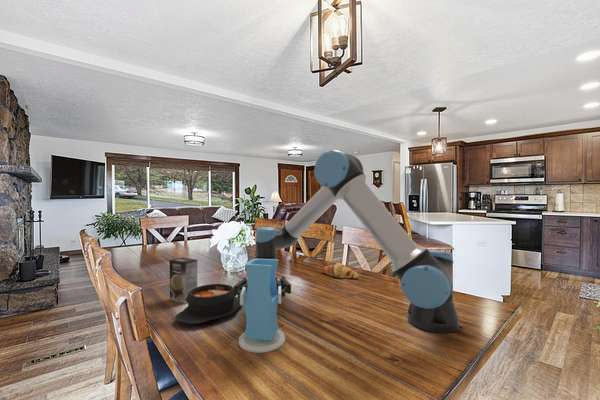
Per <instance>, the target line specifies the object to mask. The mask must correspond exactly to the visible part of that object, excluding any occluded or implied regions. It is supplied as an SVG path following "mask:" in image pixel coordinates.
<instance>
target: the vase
mask: <svg viewBox="0 0 600 400" xmlns="http://www.w3.org/2000/svg"><path fill="white" fill-rule="evenodd" d="M278 263H279V259H278V258H276V259H256V258H253V259H251V260H249V261H247V262H246V263H244V266H245V269H246V274H247V275H246V276H247V279H248V286H247V292H246V295H245V298H244V303H243V305H242V306H243V309H244V312H245V320H246V324H245V331H244V332H245V335H244V338H250V339H260V340H271V339H273V337H274V336H275V334H276V332H277V331H278V329H279V324H278V317H277V315H278V314H277V313H278V311H277V310H278V305H279V302H278V289H277V286H276V279H275V276H276V277H277V268H278Z"/></svg>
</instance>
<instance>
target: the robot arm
mask: <svg viewBox="0 0 600 400" xmlns="http://www.w3.org/2000/svg"><path fill="white" fill-rule="evenodd" d="M313 171H314V174H313V175H314V176H315V180H316V181H317V182H318V183H319V184H320V185H321V187H320V189H319V190H318V191H317V192H316V193H315V194H314V195H313V196H312V197H311V198H310V199H309V200H307V202H306V203H305V204H304V205H303V206H302V207H301V208H300V209H299V210H298V211H297V212H296V213H295V214H294V215H293V216H292V218H291V219H289V220H288V222H286V224H285V225H284V226H283V227H281V229H279V230H277V229H276V228H275V227H272V226H271V227H270V226H267V227H266V226H264V227H258V228H256V232H255V256H256V257H255V259H277V251H278V250H282V249H285V248H290V247H293V246H295V245H296V244H297V242H298V240H299V238H300V237H301V236H302V234H305V232H306V231H307V230H308V229H309V228H310V227H311V226H312V225H313V224H315V222H316V221H317V220H318V219H319V218H320V217H321V216H322V215H324V213H325V212H326V211H327V210H328V209H330V208H331V206H333V205H334V204H335V203H336V202H337V201H338V200H343V201H344V202H345V204H346V205H347V206H348V207H349V208H350V210H351V212H352V213H353V214H354V216H356V218H357V219H358V221H359V222H360V223H361V224H362V226H363V227H364V228H365V229H366V230H367V232H368V233H369V234H370V236H371V237H372V238H373V240H374V241H375V242H376V243H377V245H378V246H379V247H380V249H381V250H382V251H383V253H384V254H385V255H386V257H387V258H388V259H389V261H390V262H391V263H392V270H391V272H392V273H393V274H394V275H395V277H396V278H397V279H398V281H399V282H400V285H401V286H400V288H401V292H402V294H403V295H404V297H405V299H407V300H408V301H409V302H410V303H409V306H408V308H407V311H406V312H407V313H406V314H407V317H406V319H407V321H408V323H410V325H412V326H414V327H415V328H418V329H422V330H424V331H428V332H432V333H438V334H439V333H441V334H446V333H447V334H448V333H454V332H457V331H458V330H460V318H459V314H458V311H457V309H456V305H455V303H454V270H453V269H454V260H453V256H454V255H453V254H452V253H451V252H448V251H442V250H431V249H430V250H429V249H428V248H427V247H426V246H425V247H424V246H419V245H417V243H416V242H415V241H414V240H413V239H412V237H411V235H409V234H408V233H407V231H406V230H405V229H404V228H403V227H402V225H401V224H400V223H399V222H398V221H397V219H396V218H395V217H394V216H393V214H392V213H391V212H390V211H389V210H388V208H387V207H386V206H385V205H384V204H383V202H382V201H381V200H380V199H379V197H378V196H377V195H376V194H375V193H374V191H373V190H372V189H371V188H370V186H369V185H368V184H367V183H366V179H367V175H366V174H365V173H364V166H363V164H362V162H361V161H360V159H358V157H356V156H354V155H352V154H348V153H346V152H344V151H342V150H339V149H328V150H327V151H324V152H322V154H320V156H319V157H318V158H317V160H316V162H315V164H314V170H313ZM275 279H276V286H277V289H278V305H279V304H282V298H283V297H286V294H287V295H289V294H290V295H291V294H292V284H291V283H290V282H289V281H288V280H287V279H286V276H281V277H279V278H277V275H276V276H275ZM247 286H248V278H247V277H244V276H243V277H242V279H241V280H239V282H237V283H236V284H234V285H233V286H232V287H233V292H234V295H236V296H237V297H238V298H240V306H244V305H243V303H244V298H245V295H246V292H247Z"/></svg>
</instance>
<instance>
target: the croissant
mask: <svg viewBox="0 0 600 400" xmlns="http://www.w3.org/2000/svg"><path fill="white" fill-rule="evenodd" d="M321 271H322V272H324V273H325V274H326V275H327V276H329V277H332V278H337V279H357V278H359V274H358V273H357V272H356V271H355V270H353V269H352V268H351V267H350V266H345V264H343V263H341V262H335V263H334V264H330V265H329V266H322V267H321Z"/></svg>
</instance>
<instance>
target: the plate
mask: <svg viewBox="0 0 600 400" xmlns="http://www.w3.org/2000/svg"><path fill="white" fill-rule="evenodd" d="M244 335H245V331H244V332H243V333H241V334H240V335H239V337H238V346H239V347H240V348H241V349H242V350H243V351H246V352H249V353H255V354H262V353H269V352H274V351H275V350H278V349H280V348H281V347H282V346H283V345H284V344H285V342H286V334H285V332H283V331H282V330H281V329H279V328H278V331H277V332H276V334H275V336H274V337H273V339H271V340H260V339H250V338H244Z"/></svg>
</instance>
